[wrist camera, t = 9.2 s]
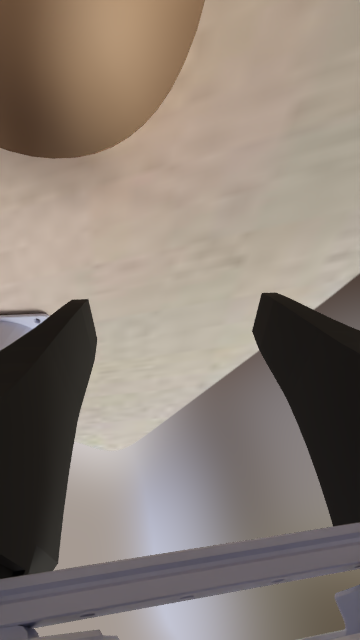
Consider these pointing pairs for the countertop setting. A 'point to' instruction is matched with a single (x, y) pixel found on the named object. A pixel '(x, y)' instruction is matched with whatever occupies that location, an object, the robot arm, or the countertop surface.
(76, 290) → the countertop surface
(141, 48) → the lid
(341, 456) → the robot arm
